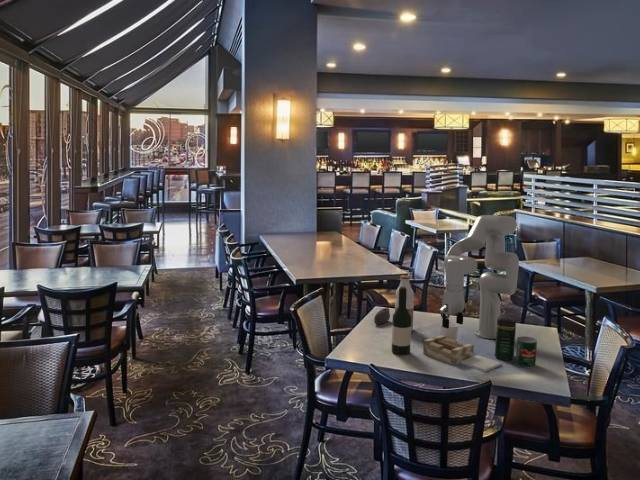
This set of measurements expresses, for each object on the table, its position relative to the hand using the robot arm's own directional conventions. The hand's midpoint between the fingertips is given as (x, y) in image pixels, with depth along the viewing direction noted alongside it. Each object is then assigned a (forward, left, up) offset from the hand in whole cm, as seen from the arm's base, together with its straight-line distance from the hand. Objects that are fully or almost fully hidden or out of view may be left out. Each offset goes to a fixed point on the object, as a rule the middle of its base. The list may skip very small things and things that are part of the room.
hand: (452, 325), depth 233 cm
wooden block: (0, -1, -12) cm, 12 cm away
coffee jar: (-19, +14, -15) cm, 28 cm away
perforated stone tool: (-13, -55, -15) cm, 59 cm away
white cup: (-12, -11, -15) cm, 22 cm away
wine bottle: (+13, -18, -15) cm, 26 cm away
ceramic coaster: (-3, +13, -14) cm, 20 cm away
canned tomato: (-18, +25, -15) cm, 34 cm away
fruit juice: (-13, -40, -15) cm, 44 cm away
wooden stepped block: (0, -2, -14) cm, 14 cm away
